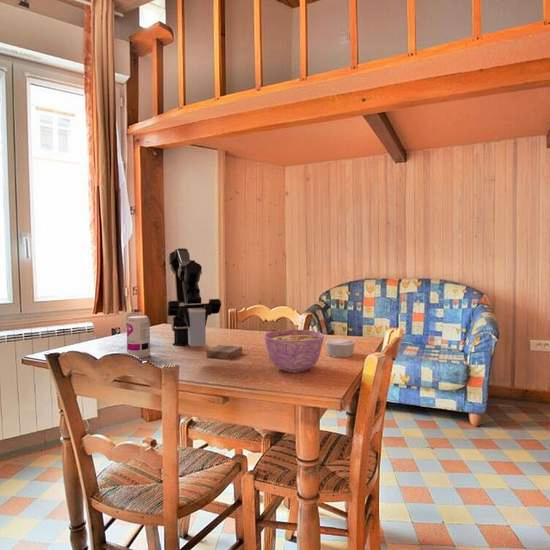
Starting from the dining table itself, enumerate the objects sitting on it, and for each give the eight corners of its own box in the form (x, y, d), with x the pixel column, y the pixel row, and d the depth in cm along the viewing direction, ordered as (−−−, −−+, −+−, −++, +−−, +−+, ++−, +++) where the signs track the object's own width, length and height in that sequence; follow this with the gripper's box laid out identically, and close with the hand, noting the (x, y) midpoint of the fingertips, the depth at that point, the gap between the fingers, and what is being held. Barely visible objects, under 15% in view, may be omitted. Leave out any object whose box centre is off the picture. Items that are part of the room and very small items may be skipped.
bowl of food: (320, 361, 160) (320, 329, 159) (328, 377, 140) (328, 340, 139) (264, 362, 159) (264, 329, 158) (264, 378, 139) (263, 341, 138)
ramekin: (353, 359, 162) (353, 345, 162) (322, 357, 165) (322, 343, 165) (356, 352, 173) (356, 339, 173) (328, 351, 176) (328, 337, 176)
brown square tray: (206, 358, 167) (206, 350, 167) (219, 352, 176) (219, 345, 176) (230, 360, 163) (230, 352, 163) (242, 354, 172) (242, 346, 172)
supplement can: (129, 359, 163) (128, 319, 163) (125, 355, 171) (124, 316, 170) (152, 357, 167) (151, 317, 166) (147, 352, 174) (146, 314, 174)
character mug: (148, 343, 191) (147, 313, 190) (132, 346, 186) (131, 315, 186) (136, 340, 199) (135, 311, 198) (120, 342, 194) (120, 312, 193)
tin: (187, 343, 159) (187, 308, 158) (203, 342, 161) (202, 307, 160) (190, 346, 154) (189, 310, 153) (206, 345, 156) (205, 309, 155)
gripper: (213, 304, 174) (220, 337, 165) (164, 306, 168) (168, 341, 158) (217, 285, 166) (225, 319, 157) (166, 287, 160) (170, 322, 150)
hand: (197, 326), depth 156 cm, fingers closed on tin, 5 cm apart
